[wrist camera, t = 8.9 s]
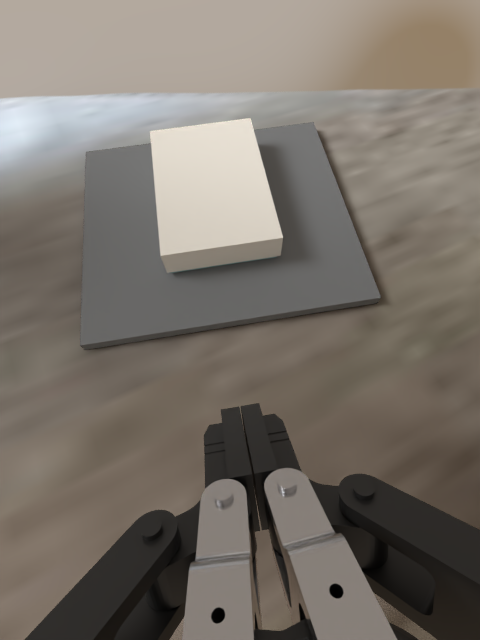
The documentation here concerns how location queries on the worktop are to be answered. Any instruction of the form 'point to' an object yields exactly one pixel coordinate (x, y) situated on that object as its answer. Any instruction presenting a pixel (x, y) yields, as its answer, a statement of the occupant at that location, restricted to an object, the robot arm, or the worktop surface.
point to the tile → (212, 197)
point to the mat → (220, 281)
